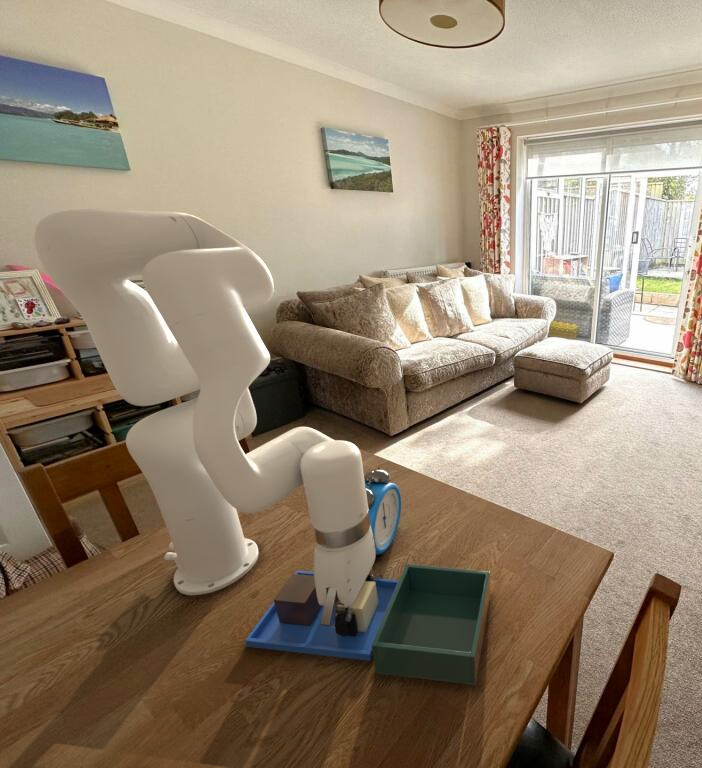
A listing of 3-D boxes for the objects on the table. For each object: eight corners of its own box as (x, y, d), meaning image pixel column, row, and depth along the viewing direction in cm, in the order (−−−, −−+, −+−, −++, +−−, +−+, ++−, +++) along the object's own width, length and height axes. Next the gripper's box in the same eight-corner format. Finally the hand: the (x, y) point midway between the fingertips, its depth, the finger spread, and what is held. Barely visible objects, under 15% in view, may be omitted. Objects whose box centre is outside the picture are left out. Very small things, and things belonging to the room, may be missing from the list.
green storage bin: (375, 675, 57) (371, 645, 54) (408, 590, 70) (406, 563, 68) (475, 686, 56) (474, 657, 53) (489, 598, 69) (490, 571, 67)
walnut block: (279, 623, 63) (273, 599, 61) (298, 595, 68) (292, 573, 66) (309, 626, 63) (304, 603, 61) (326, 598, 67) (322, 576, 66)
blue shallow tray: (247, 648, 60) (244, 640, 59) (298, 577, 72) (296, 570, 71) (370, 662, 58) (369, 654, 58) (401, 587, 70) (401, 580, 70)
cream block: (334, 629, 62) (329, 605, 61) (349, 601, 67) (345, 578, 65) (365, 632, 62) (362, 609, 60) (378, 604, 67) (375, 581, 65)
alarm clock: (376, 571, 73) (367, 504, 68) (344, 567, 74) (333, 500, 69) (404, 522, 85) (398, 462, 80) (377, 519, 86) (369, 459, 81)
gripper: (345, 486, 66) (358, 569, 73) (279, 569, 50) (303, 666, 57) (390, 489, 65) (398, 573, 72) (337, 575, 49) (355, 672, 56)
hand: (356, 613), depth 64 cm, fingers open, 5 cm apart
